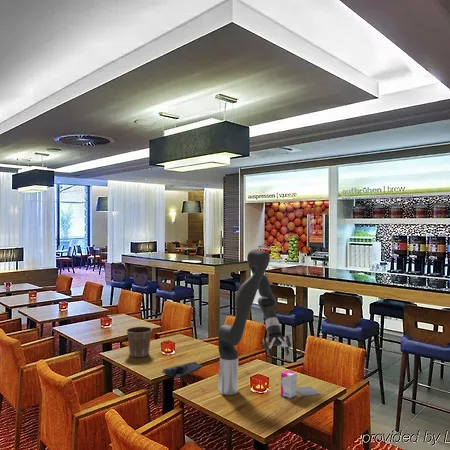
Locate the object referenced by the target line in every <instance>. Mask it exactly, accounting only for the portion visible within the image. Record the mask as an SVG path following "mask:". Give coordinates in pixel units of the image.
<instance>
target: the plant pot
mask: <svg viewBox="0 0 450 450" xmlns="http://www.w3.org/2000/svg"><path fill="white" fill-rule="evenodd" d="M125 331H126V333H127V339H128V340H127V341H128V350H129V351H128V352H129V356H130V357H131V358H136V357H137V358H145V357H147V356H149V354H150V347H151V346H150V344H151V336H152V331H153V328H152V327H149V326H133V327H130V328H126V330H125Z"/></svg>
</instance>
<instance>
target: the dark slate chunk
mask: <svg viewBox="0 0 450 450" xmlns="http://www.w3.org/2000/svg"><path fill="white" fill-rule="evenodd" d="M202 367H203V365H202V364H200V363H198V362H196V361H193V362H188V363H185V364H178V365H175V366H169V367H166V368H163V369H162V372H161V373H163V374H165V375H166V376H168V377H170V378H175V379H180V378H183V377H186V376H188V375H189V374H193V373H194V372H197V371H199V370H200V369H202Z"/></svg>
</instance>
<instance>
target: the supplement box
mask: <svg viewBox="0 0 450 450" xmlns="http://www.w3.org/2000/svg"><path fill="white" fill-rule="evenodd" d="M297 374H298V373H297V372H295V371H292V370H284V371H282V372H281V373H280V378H281V379H280V396H281V397H284V398H286V399H288V400H291V399H293V398H295V397H297V392H296V388H297V383H298V382H297V378H298V377H297V376H298V375H297Z"/></svg>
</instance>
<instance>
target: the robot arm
mask: <svg viewBox="0 0 450 450" xmlns="http://www.w3.org/2000/svg"><path fill="white" fill-rule="evenodd" d="M270 254H271V253H269V252H267V251H264V250H259V249H251V250H249V252H248V253H247V256H246V258H247V259H246V260H247V264H248V267H249V268H250V271H251V273H252V275H251V276H250V277H248V279H247V280H245V281H244V282H243V283H242V284H241V285H240V286H239V288H238V290H237V293H236V296H235V300H234V303H235V305H234V306H235V317H234V320H233V323H232V325H231V324H229V323H228V324H227V323H225V324H222V325H221V326H220V327H219V330H218V333H217V335H218V336H217V340H218V341H217V342H218V345H217V346H218V353H219V371H218V373H217V375H218V376H217V377H218V379H217V381H218V382H217V390H218V392H219V393H220V394H221V395H225V396H227V395H228V396H231V395H235V394H237V393H238V392H239V391H238V390H239V389H238V388H239V387H238V386H239V352H238V351H239V350H237V349H236V347H235V346H238V344H239V343H240V342H241V340H242V338H243V335H244V331H245V327H246V324H247V320H248V318H249V314H250V312H251V309H252V305H253V303H254V300H255V298H256V295H257V292H258V294H259V296H260V297H259V298H258V299H257V304H258V306H259V308H260V310H261V312H262V314H263V317H264V321H265V329H266V333H267V337H265V336H264V337H263V339H262V342H263V350H265V351H268V352H267V353H268V356H269V357H270V358H273V356H274V355H273V350H272V347H278V346H281V347H282V348H283V349H284V352H285V356H286V357H288V356H289V354H290V351H289V349H290V348H291V347H292V344H291V340H290V337H289V335H286V336H283V333H282V330H281V325H280V321H279V320H278V319H279V318H278V315H277V311H276V309H273V308H274V307H276V306H277V300H278V299H277V298H276V296H275V295H274V293H273V291H272V287H271V285H270V284H271V283H270V280H269V279H268V277H267V276H266V274H265V273H266V271H267V269H268V266H269V264H270V262H271V261H270V259H271V255H270ZM267 342H269V343H270V344H269V346H268V343H267Z"/></svg>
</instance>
